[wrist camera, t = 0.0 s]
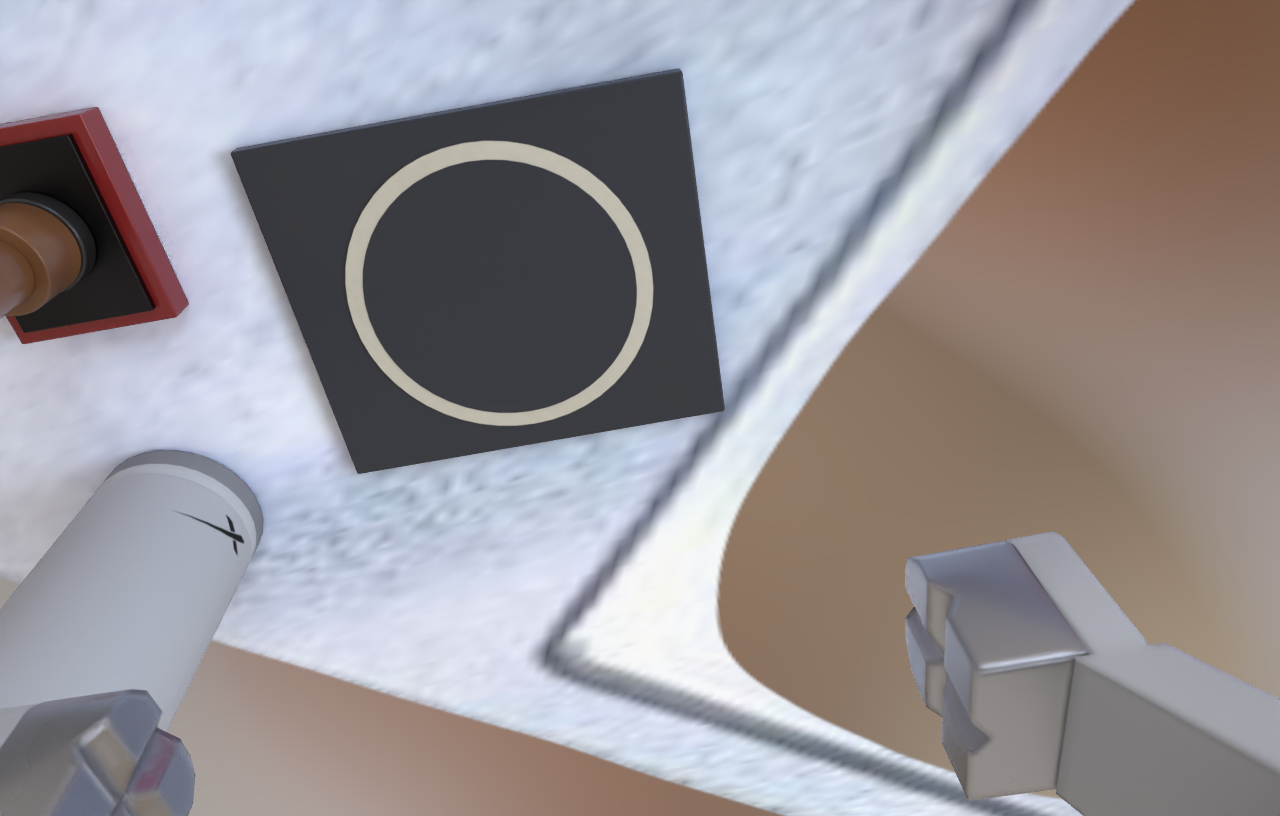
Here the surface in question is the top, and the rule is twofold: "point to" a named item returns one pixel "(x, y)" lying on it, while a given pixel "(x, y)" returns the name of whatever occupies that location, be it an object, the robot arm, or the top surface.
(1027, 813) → the top surface
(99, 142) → the ink pad
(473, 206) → the dark grey square plate
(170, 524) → the travel mug
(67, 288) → the dot stamp
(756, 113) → the top surface
